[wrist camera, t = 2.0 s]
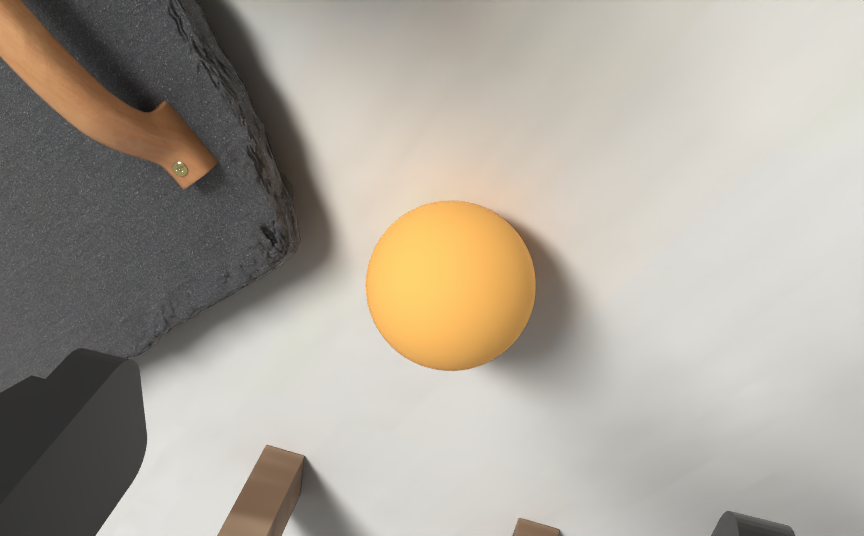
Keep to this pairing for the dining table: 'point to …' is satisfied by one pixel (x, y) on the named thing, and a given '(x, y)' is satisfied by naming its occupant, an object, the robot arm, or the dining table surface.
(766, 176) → the dining table surface
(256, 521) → the bridge
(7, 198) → the serving board
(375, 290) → the ball
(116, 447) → the robot arm
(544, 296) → the dining table surface
